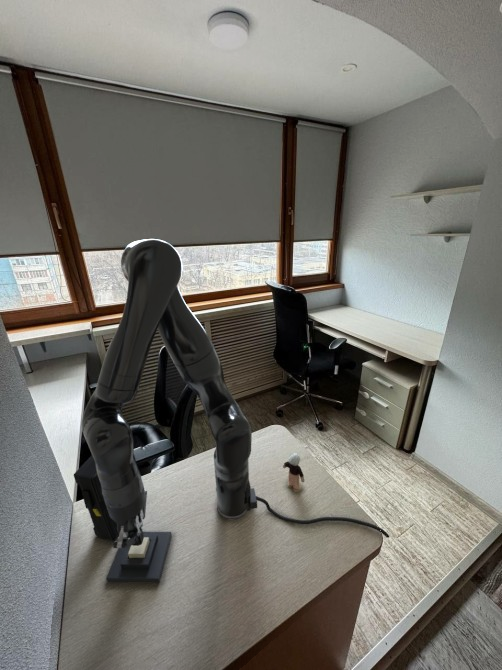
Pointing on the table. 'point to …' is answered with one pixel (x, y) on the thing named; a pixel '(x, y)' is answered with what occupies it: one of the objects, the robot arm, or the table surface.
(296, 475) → the grandmother figurine
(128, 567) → the push button
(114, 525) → the portable radio
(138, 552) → the key
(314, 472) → the table surface
